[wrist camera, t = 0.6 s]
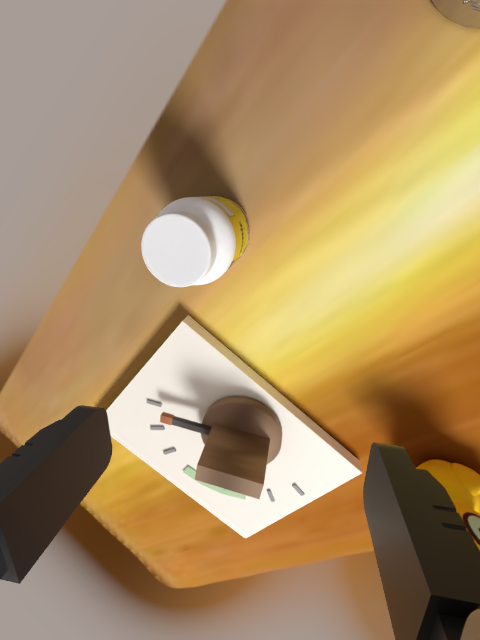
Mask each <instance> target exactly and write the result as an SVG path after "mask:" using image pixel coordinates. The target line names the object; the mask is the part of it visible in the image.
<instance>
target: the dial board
mask: <svg viewBox="0 0 480 640" xmlns="http://www.w3.org/2000/svg"><path fill="white" fill-rule="evenodd" d="M228 396H245V397H250V398H253V399H256V400H258V401H260V402H262V403H263V404H265V405H266V406H268V407H269V408H270V409H271V410H272V411H273V412H274V413H275V414H276V416H277V417H278V419H279V421H280V423H281V426H282V444H281V449H280V452H279V454H278V455H277V457H276V458H275V459H274V460H273V461H271V462H270V463H268V464H267V466H266V473H265V480H264V486H263V489H262V492H261V496H260V499H256V498H253V497H250V496H246V495H243V494H240V493H237V492H233V491H230V490H227V489H224V488H220V487H217V486H214V485H211V484H207V483H204V482H201V481H198V480H195V474H196V468H197V464H198V461H199V459H200V456H201V454H202V451H203V449H204V446H205V445H204V443H203V440H202V437H201V433H198V432H195V431H192V430H188V429H185V428H181V427H178V426H174V425H168V424H164V423H161V422H160V417H161V414H162V412H165V413H169V414H172V415H174V416H176V417H180V418H183V419H187V420H190V421H194V422H197V423H202V421H203V418H204V416H205V414H206V412H207V410H208V408H209V407H210V406H211V405H212V404H213V403H214V402H216V401H217V400H219V399H222V398H224V397H228ZM106 412H107V416H108V422H109V429H110V436H111V437H113V438H114V439H115V440H116V441H118V442H119V443H120V444H122V445H123V446H124V447H126V448H127V449H128V450H130V451H131V452H132V453H134V454H135V455H136V456H137V457H139V458H140V459H141V460H143V461H144V462H145V463H147V464H148V465H149V466H151V467H152V468H153V469H155V470H156V471H157V472H158V473H160V474H161V475H162V476H164V477H165V478H166V479H168V480H169V481H170V482H172V483H173V484H174V485H176V486H177V487H178V488H179V489H181V490H182V491H183V492H185V493H186V494H187V495H189V496H190V497H191V498H193V499H194V500H195V501H197V502H198V503H199V504H200V505H202V506H203V507H204V508H206V509H207V510H208V511H210V512H211V513H212V514H214V515H215V516H216V517H217V518H219V519H220V520H221V521H223V522H224V523H225V524H227V525H228V526H229V527H231V528H232V529H233V530H235V531H236V532H237V533H238V534H240V535H241V536H242V537H244V538H245V539H246V538H247V537H249V536H251V535H253V534H254V533H256V532H258V531H260V530H262V529H263V528H265V527H267V526H269V525H270V524H272V523H274V522H276V521H278V520H279V519H281V518H283V517H285V516H286V515H288V514H290V513H292V512H294V511H295V510H297V509H299V508H301V507H302V506H304V505H306V504H308V503H310V502H311V501H313V500H315V499H317V498H318V497H320V496H322V495H324V494H326V493H327V492H329V491H331V490H333V489H334V488H336V487H338V486H340V485H342V484H343V483H345V482H347V481H349V480H350V479H352V478H354V477H356V476H358V475H359V474H361V473H362V470H361V465H360V461H359V460H358V459H357V458H356V457H355V456H353V455H352V454H351V453H350V452H349V451H348V450H346V449H345V448H344V447H343V446H342V445H341V444H339V443H338V442H337V441H336V440H335V439H334V438H332V437H331V436H330V435H329V434H328V433H326V432H325V431H324V430H323V429H322V428H321V427H319V426H318V425H317V424H316V423H315V422H314V421H312V420H311V419H310V418H309V417H308V416H306V415H305V414H304V413H303V412H302V411H301V410H299V409H298V408H297V407H296V406H295V405H294V404H292V403H291V402H290V401H289V400H288V399H287V398H285V397H284V396H283V395H282V394H281V393H279V392H278V391H277V390H276V389H275V388H274V387H272V386H271V385H270V384H269V383H268V382H267V381H265V380H264V379H263V378H262V377H261V376H260V375H258V374H257V373H256V372H255V371H254V370H252V369H251V368H250V367H249V366H248V365H247V364H245V363H244V362H243V361H242V360H241V359H240V358H238V357H237V356H236V355H235V354H234V353H232V352H231V351H230V350H229V349H228V348H227V347H225V346H224V345H223V344H222V343H221V342H220V341H218V340H217V339H216V338H215V337H214V336H213V335H211V334H210V333H209V332H208V331H207V330H205V329H204V328H203V327H202V326H201V325H200V324H198V323H197V322H196V321H195V320H194V319H193V318H191V317H190V316H189V315H188V316H187V317H186V318H185V319H184V320H183V321H182V322H181V323H180V324H179V326H178V327H177V328H176V329H175V330H174V332H173V333H172V334H171V335H170V336H169V337H168V339H167V340H166V341H165V342H164V343H163V344H162V346H161V347H160V348H159V349H158V350H157V352H156V353H155V354H154V355H153V356H152V357H151V359H150V360H149V361H148V362H147V363H146V364H145V366H144V367H143V368H142V369H141V370H140V371H139V373H138V374H137V375H136V376H135V377H134V379H133V380H132V381H131V382H130V383H129V384H128V386H127V387H126V388H125V389H124V390H123V391H122V393H121V394H120V395H119V396H118V397H117V399H116V400H115V401H114V402H113V403H112V404H111V406H110V407H109V408H108V409H107V410H106Z"/></svg>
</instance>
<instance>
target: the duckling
mask: <svg viewBox="0 0 480 640" xmlns="http://www.w3.org/2000/svg"><path fill="white" fill-rule="evenodd" d="M416 469H423V470H427V471H429V472H430V473H431V474H432V475H433V476H434V477H435V478H436V479H437V480H438V481H439V482H440V483H441V484H442V485H443V486H444V487H445V489H446V491H447V492H448V494H449V496H450V498H451V500H452V501H453V503H454V505H455V507H456V511H457V513H459V514H460V516H461V518H462V519H463V521H464V523H465V525H466V529H467V531H469V532H470V534H471V536H472V538H473V539H474V541H475V543H476V545H477V547H478V548H479V550H480V475H479V474H477V473H476V472H475V471H473V470H472V469H470V468H468V467H466V466H464V465H461V464H458V463H452V464H451V463H449V462H446V461H443V460H438V459H433V460H428V461H426V462H424V463H422V464H420V465H419V466H418V467H416Z"/></svg>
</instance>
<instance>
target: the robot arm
mask: <svg viewBox="0 0 480 640" xmlns="http://www.w3.org/2000/svg"><path fill="white" fill-rule="evenodd" d="M431 1H432V2H433V4H434V5H435V7H436V8H437V10H439V11H440V12H441V13H442V14H443V15H445V16H446V17H447V18H448V19H449V20H451V21H453V22H456V23H458V24H460V25H462V26H465V27H472V28H480V0H431ZM111 455H112V443H111V436H110V429H109V422H108V416H107V412H106V410H105V409H104V408H98V407H90V406H78V407H76V408H75V409H73V410H72V411H71V412H70V413H69V414H68V415H66V416H65V417H64V418H63V419H62V420H58V421H56V422H55V423H53V424H51V425H49V426H47V427H45V428H43V429H41V430H40V431H39V432H37V433H36V434H35V435H34V436H33V437H31V438H30V439H29V440H28V441H27V442H25V445H24V446H23V445H22V446H21V447H20V448H18V449H17V450H16V451H15V452H14V453H12V456H11V457H8V458H6V459H5V460H4V461H3V462H2V463H0V579H2V580H6V581H11V582H15V583H21V581H22V580H23V579H24V577H25V576H26V575H27V573H28V572H29V571H30V569H31V568H32V566H33V565H34V564H35V563H36V561H37V560H38V558H39V557H40V556H41V555H42V553H43V552H44V550H45V549H46V548H47V547H48V545H49V544H50V542H51V541H52V540H53V539H54V537H55V536H56V535H57V533H58V532H59V531H60V529H61V528H62V526H63V525H64V524H65V523H66V521H67V520H68V519H69V517H70V516H71V515H72V513H73V512H74V511H75V509H76V508H77V507H78V505H79V504H80V503H81V501H82V500H83V499H84V497H85V496H86V495H87V493H88V492H89V491H90V489H91V488H92V487H93V485H94V484H95V483H96V482H97V480H98V479H99V478H100V476H101V475H102V474H103V472H104V471H105V469H106V468H107V466H108V464H109V462H110V459H111ZM363 498H364V508H365V513H366V517H367V521H368V526H369V530H370V534H371V538H372V543H373V547H374V551H375V555H376V559H377V564H378V568H379V572H380V576H381V580H382V584H383V589H384V593H385V597H386V601H387V605H388V610H389V614H390V618H391V622H392V627H393V631H394V635H395V639H396V640H480V550H479V548H478V547H477V545H476V543H475V541H474V539H473V538H472V536H471V534H470V532H469V531H467V529H466V525H465V523H464V521H463V519H462V518H461V516H460V514H459V513H457V511H456V507H455V505H454V503H453V501H452V500H451V498H450V496H449V494H448V492H447V491H446V489H445V487H444V486H443V485H442V484H441V483H440V482H439V481H438V480H437V479H436V478H435V477H434V476H433V475H432V474H431V473H430V472H429V471H427V470H423V469H416V468H415V467H414V465H413V463H412V461H411V458H410V456H409V454H408V452H407V450H406V449H405V447H403V446H397V445H389V444H381V443H373V444H372V446H371V450H370V455H369V461H368V466H367V471H366V477H365V482H364V490H363Z"/></svg>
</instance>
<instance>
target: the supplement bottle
mask: <svg viewBox="0 0 480 640" xmlns="http://www.w3.org/2000/svg"><path fill="white" fill-rule="evenodd" d="M249 239H250V225H249V221H248V218H247V216H246V214H245V212H244V211H243V210H242V208H241V207H240V206H239V205H238V204H236V203H235V202H234V201H232V200H230V199H228V198H225V197H220V196H205V197H186V198H181V199H178V200H175V201H173V202H171V203H169V204H168V205H167V206H165V207H164V208H163V209H162V210H161V212H160V213H159V214H158V216H157V217H156V218H155V219H153V220H152V221H151V222H150V223H149V224H148V226H147V227H146V229H145V231H144V233H143V237H142V242H141V249H142V255H143V259H144V262H145V264H146V266H147V268H148V269H149V271H150V272H151V273H152V274H153V275H154V276H155V277H156V278H157V279H158V280H160V281H161V282H163V283H165V284H167V285H170V286H174V287H186V286H190V285H203V284H207V283H210V282H212V281H214V280H216V279H218V278H219V277H220V276H222V275H223V274H224V273H225V272H226V271H227V270H228V269H229V268H230V267H231V265H232V264H233V263H234V262H235V261H236V260H237V259H239V257H240V256H241V255H242V254H243V253H244V251H245V249H246V248H247V245H248V243H249Z"/></svg>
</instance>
